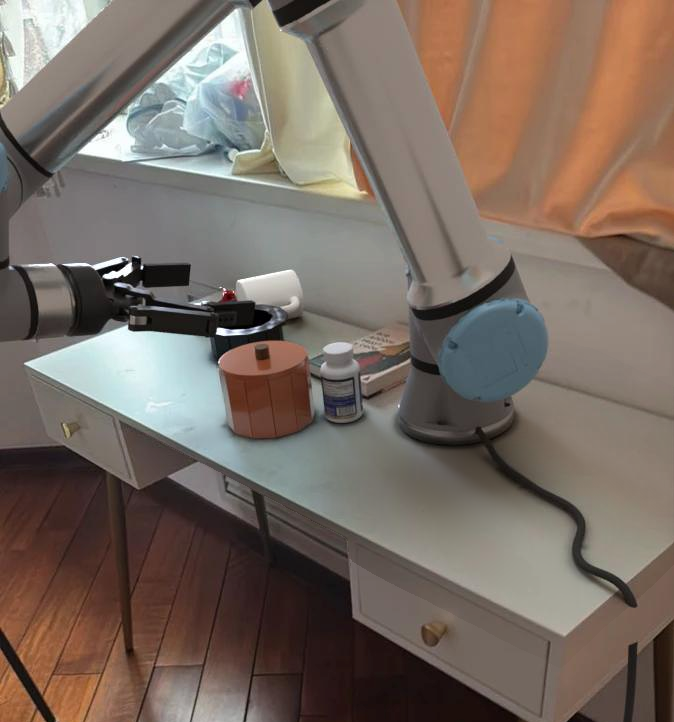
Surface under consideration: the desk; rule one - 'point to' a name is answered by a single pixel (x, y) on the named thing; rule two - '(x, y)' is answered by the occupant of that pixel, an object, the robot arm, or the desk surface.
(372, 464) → the desk surface
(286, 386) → the lidded pot
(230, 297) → the hoverbike
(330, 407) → the pill bottle
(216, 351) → the black flanged round holder
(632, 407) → the desk surface
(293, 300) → the mug
